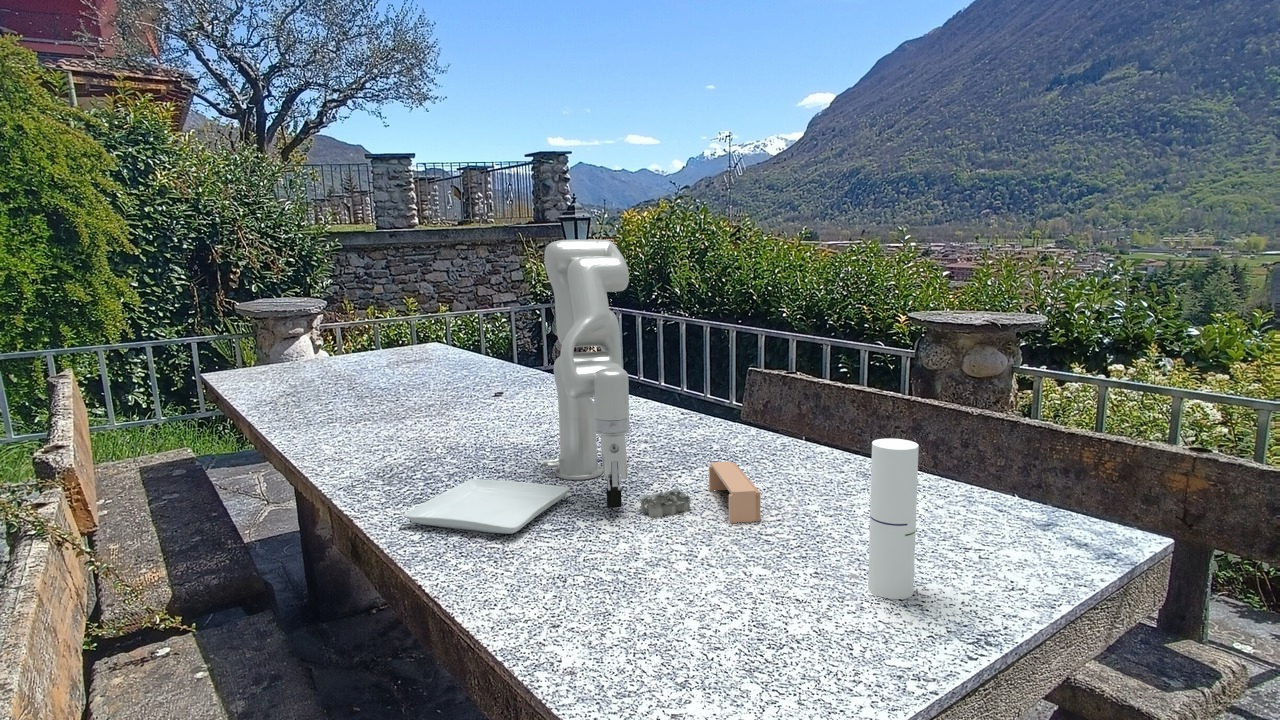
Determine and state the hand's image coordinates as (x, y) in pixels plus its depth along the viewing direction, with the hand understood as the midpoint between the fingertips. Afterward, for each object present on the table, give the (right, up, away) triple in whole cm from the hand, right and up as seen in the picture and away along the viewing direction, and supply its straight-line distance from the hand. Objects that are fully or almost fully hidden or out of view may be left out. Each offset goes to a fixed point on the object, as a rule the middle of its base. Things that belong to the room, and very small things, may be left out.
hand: (614, 506), depth 162 cm
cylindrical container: (+48, -6, -40) cm, 62 cm away
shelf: (+26, 0, +3) cm, 26 cm away
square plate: (-27, -2, 0) cm, 27 cm away
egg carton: (+11, -1, +1) cm, 11 cm away
